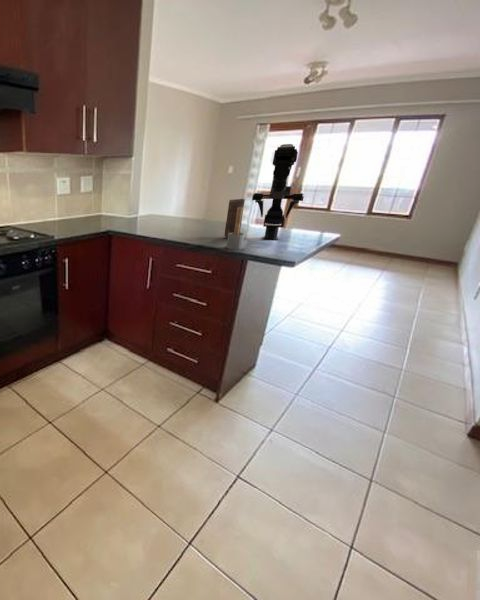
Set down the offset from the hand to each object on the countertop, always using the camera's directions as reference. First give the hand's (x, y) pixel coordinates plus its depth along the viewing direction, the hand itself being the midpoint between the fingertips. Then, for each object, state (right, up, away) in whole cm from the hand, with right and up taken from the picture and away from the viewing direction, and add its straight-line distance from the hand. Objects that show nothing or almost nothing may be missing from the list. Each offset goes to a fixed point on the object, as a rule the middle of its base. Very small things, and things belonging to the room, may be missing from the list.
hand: (273, 217), depth 145 cm
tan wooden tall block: (-4, -3, +32) cm, 32 cm away
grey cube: (-12, -12, +10) cm, 20 cm away
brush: (-12, -12, +10) cm, 20 cm away
